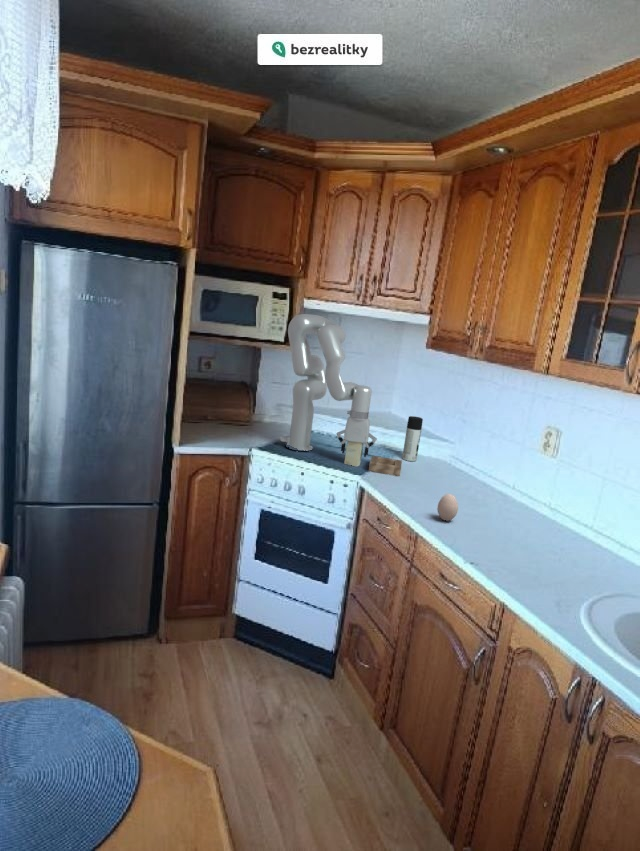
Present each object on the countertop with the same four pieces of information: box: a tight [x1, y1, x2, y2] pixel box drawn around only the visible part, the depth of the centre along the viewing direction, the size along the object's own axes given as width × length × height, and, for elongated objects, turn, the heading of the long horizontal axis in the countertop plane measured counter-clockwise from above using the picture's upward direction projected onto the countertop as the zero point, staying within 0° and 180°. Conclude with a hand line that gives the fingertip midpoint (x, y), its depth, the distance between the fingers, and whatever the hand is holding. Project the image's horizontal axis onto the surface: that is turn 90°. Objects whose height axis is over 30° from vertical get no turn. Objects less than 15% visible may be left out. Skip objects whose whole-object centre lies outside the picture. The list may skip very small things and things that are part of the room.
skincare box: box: [343, 441, 365, 467], centre depth 243 cm, size 6×4×12 cm
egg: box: [437, 493, 459, 522], centre depth 190 cm, size 7×7×9 cm
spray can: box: [402, 415, 424, 462], centre depth 262 cm, size 7×7×20 cm
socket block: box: [368, 455, 403, 477], centre depth 242 cm, size 13×13×4 cm
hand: (354, 454), depth 243 cm, fingers open, 9 cm apart
